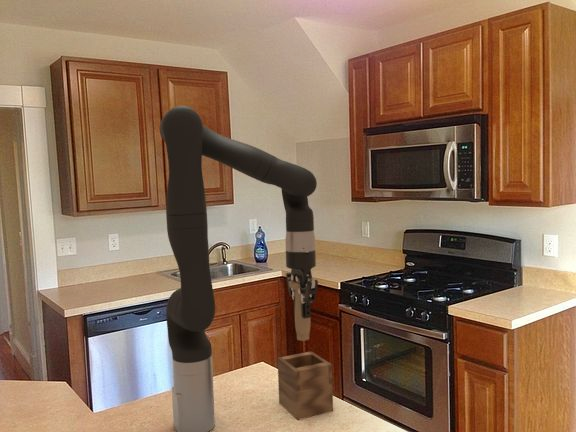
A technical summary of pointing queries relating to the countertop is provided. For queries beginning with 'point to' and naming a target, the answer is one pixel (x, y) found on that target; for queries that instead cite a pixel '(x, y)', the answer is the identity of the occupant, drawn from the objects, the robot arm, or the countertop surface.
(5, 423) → the countertop surface
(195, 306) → the robot arm
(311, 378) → the wooden box
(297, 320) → the handle
